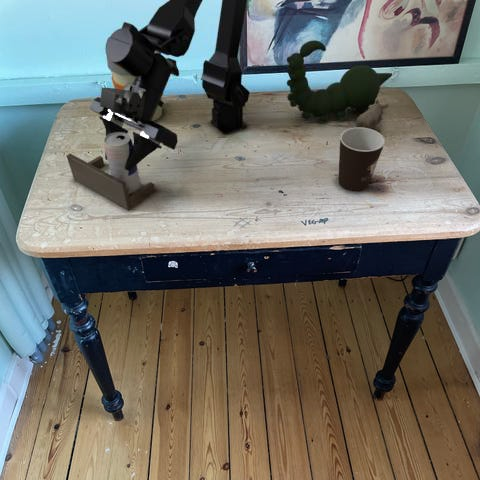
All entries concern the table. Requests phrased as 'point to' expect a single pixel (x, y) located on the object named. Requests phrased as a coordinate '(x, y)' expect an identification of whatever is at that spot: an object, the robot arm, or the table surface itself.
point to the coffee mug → (358, 157)
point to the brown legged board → (106, 182)
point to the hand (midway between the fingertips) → (116, 165)
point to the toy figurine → (332, 87)
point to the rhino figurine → (371, 116)
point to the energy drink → (121, 160)
